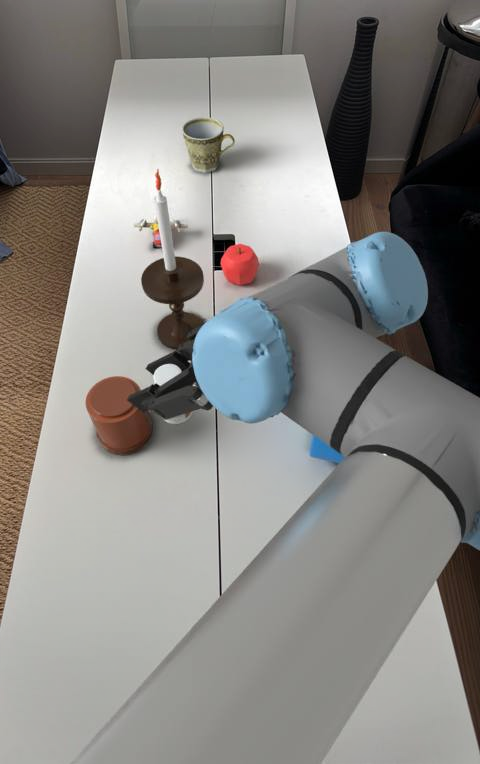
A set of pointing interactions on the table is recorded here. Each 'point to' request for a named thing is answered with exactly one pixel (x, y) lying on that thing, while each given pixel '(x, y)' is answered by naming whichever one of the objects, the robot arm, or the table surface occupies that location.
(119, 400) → the brown cylindrical container
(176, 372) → the pill bottle
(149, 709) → the robot arm
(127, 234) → the table surface
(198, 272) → the candlestick
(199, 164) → the ceramic cup
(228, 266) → the apple
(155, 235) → the toy airplane
